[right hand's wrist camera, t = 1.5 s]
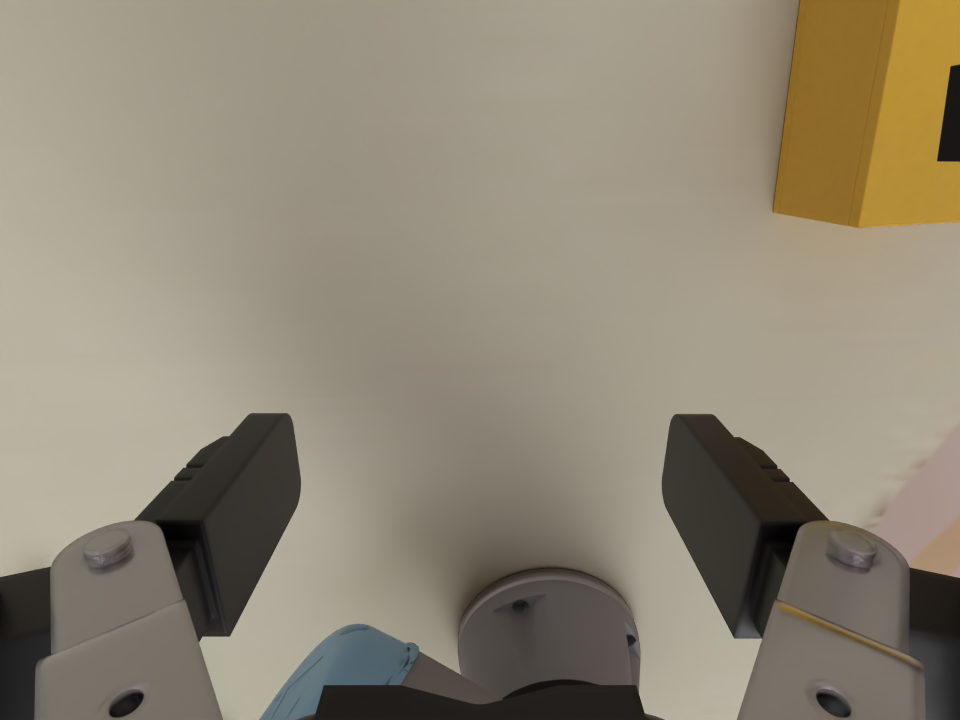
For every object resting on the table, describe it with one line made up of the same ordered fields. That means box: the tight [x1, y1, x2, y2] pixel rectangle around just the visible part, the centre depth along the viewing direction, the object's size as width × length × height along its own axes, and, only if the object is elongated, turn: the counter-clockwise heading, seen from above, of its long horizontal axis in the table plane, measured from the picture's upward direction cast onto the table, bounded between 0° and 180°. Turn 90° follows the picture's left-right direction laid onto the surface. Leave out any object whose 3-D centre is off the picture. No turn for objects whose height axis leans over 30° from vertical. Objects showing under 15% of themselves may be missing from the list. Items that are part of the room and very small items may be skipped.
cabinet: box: [773, 0, 960, 228], centre depth 28 cm, size 13×10×8 cm
